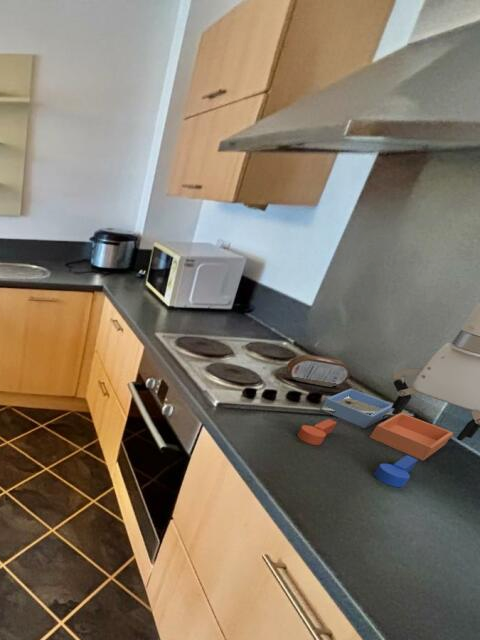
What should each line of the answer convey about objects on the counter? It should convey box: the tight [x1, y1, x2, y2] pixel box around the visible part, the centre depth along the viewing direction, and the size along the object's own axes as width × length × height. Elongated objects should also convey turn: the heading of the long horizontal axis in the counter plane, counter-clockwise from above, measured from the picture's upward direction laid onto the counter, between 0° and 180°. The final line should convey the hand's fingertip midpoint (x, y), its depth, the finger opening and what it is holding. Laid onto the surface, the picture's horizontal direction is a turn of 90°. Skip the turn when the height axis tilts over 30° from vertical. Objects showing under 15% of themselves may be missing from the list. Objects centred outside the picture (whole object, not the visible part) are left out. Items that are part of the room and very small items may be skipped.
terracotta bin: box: [369, 412, 454, 461], centre depth 97 cm, size 10×14×4 cm
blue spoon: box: [373, 454, 419, 488], centre depth 85 cm, size 5×11×3 cm, turn 119°
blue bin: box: [320, 388, 394, 429], centre depth 108 cm, size 10×14×4 cm
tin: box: [285, 354, 351, 386], centre depth 122 cm, size 15×3×8 cm, turn 71°
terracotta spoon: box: [296, 418, 338, 446], centre depth 97 cm, size 5×11×3 cm, turn 119°
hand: (427, 425), depth 82 cm, fingers open, 9 cm apart
